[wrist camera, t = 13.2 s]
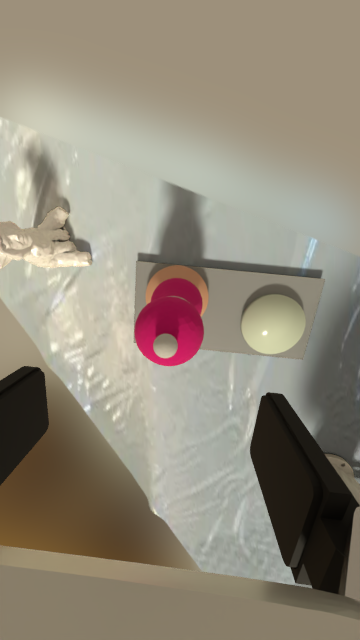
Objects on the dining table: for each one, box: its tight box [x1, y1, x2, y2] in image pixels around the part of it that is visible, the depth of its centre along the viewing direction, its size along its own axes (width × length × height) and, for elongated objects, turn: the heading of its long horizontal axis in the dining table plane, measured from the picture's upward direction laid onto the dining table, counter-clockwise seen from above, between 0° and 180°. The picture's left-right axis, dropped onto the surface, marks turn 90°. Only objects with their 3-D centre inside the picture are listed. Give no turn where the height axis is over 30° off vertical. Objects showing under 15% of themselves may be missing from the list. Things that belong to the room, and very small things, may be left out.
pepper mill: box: [134, 278, 204, 366], centre depth 24 cm, size 7×7×20 cm
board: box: [134, 261, 325, 360], centre depth 36 cm, size 30×14×1 cm, turn 85°
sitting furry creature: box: [0, 206, 92, 269], centre depth 29 cm, size 10×9×12 cm
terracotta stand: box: [146, 265, 208, 317], centre depth 34 cm, size 10×10×2 cm
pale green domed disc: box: [240, 294, 306, 354], centre depth 35 cm, size 10×10×2 cm
